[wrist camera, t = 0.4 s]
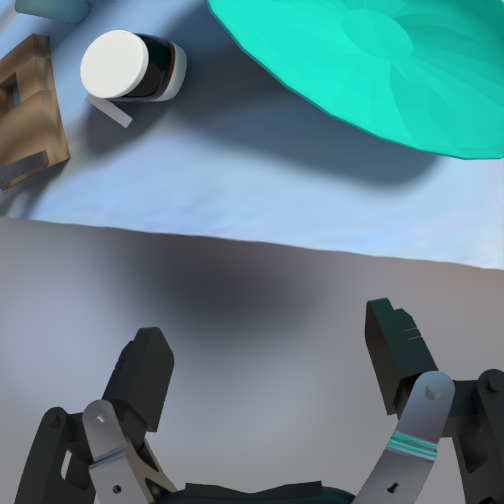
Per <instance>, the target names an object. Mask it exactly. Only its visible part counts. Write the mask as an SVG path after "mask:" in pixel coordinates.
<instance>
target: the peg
mask: <svg viewBox="0 0 504 504" xmlns="http://www.w3.org/2000/svg"><path fill="white" fill-rule="evenodd" d="M89 9H90V5H89V3H88V2H87V1H84V0H16V3H15V10H16V12H18V13H24V14H29V15H35V16H40V17H44V18H49V19H53V20H58V21H62V22H66V23H70V24H78V23H80V22H81V21H83V20H84V19H85V17H86V16H87V14H88V13H89Z"/></svg>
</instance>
